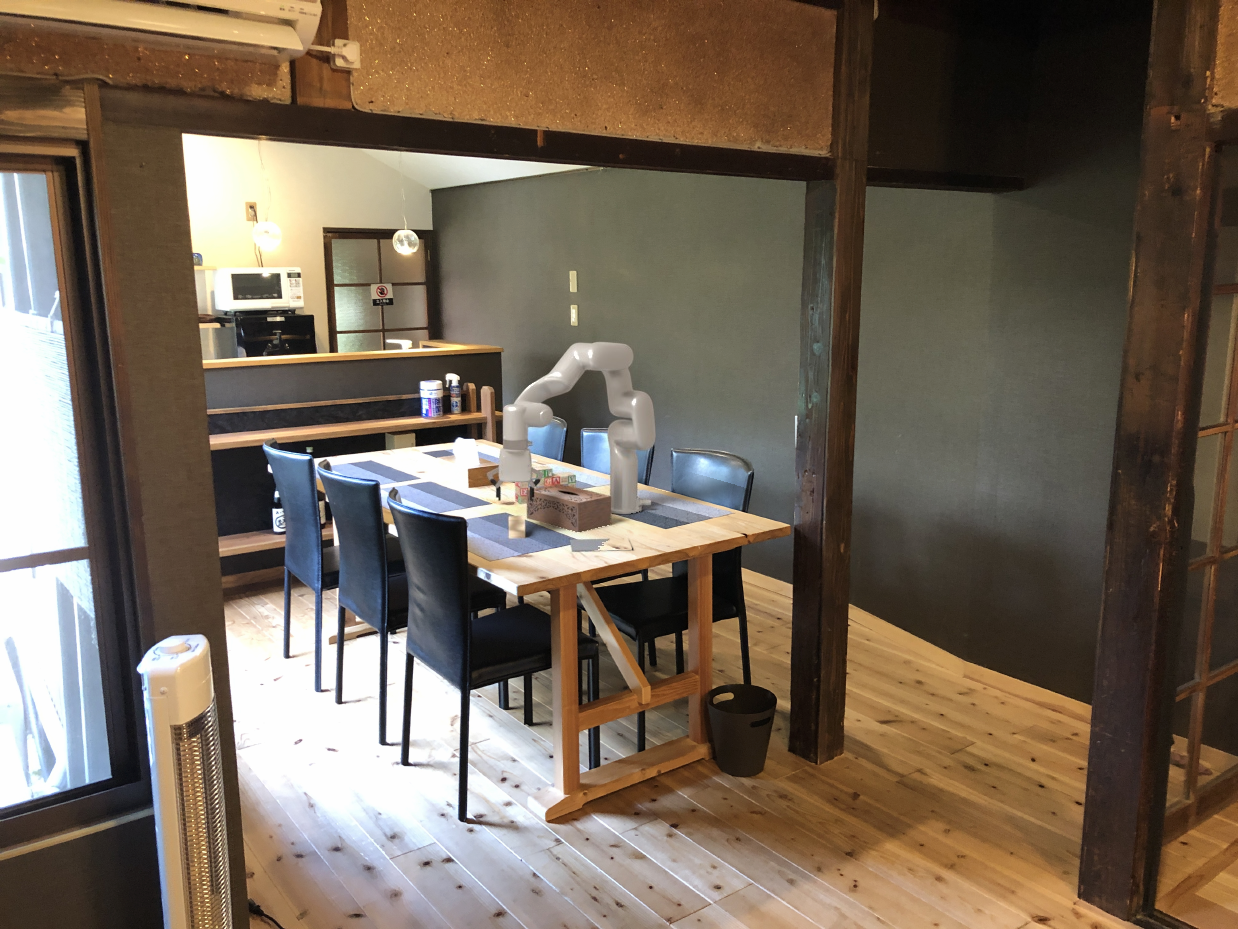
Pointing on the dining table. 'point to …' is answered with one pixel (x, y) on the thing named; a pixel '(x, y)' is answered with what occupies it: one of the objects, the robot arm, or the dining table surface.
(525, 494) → the stack of blocks
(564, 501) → the tissue box cover
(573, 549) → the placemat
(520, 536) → the maple block
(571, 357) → the robot arm
